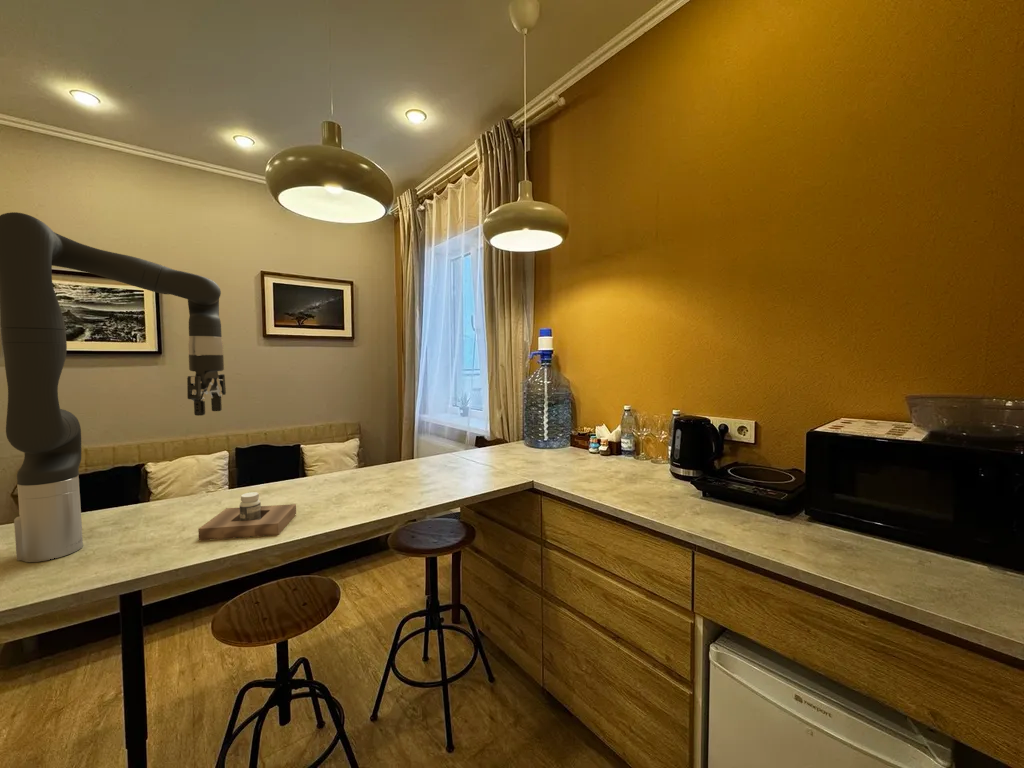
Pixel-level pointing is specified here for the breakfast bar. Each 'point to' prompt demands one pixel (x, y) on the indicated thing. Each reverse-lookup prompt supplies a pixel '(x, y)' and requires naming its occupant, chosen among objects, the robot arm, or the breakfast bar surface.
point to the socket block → (247, 523)
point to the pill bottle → (250, 507)
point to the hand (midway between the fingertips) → (208, 413)
